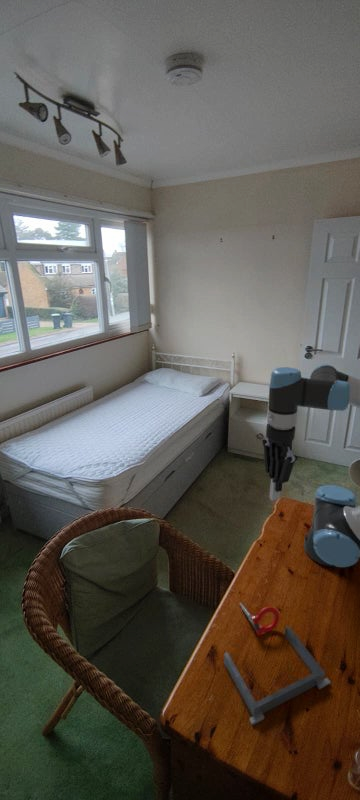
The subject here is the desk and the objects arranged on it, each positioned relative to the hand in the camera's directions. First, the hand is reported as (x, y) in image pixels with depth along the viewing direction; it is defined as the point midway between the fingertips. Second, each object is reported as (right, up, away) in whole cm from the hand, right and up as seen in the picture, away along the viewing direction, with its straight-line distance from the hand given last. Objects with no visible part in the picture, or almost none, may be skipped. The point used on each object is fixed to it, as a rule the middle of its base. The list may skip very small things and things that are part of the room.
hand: (274, 498), depth 110 cm
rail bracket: (-6, -36, -21) cm, 42 cm away
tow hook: (-3, -27, -6) cm, 28 cm away
